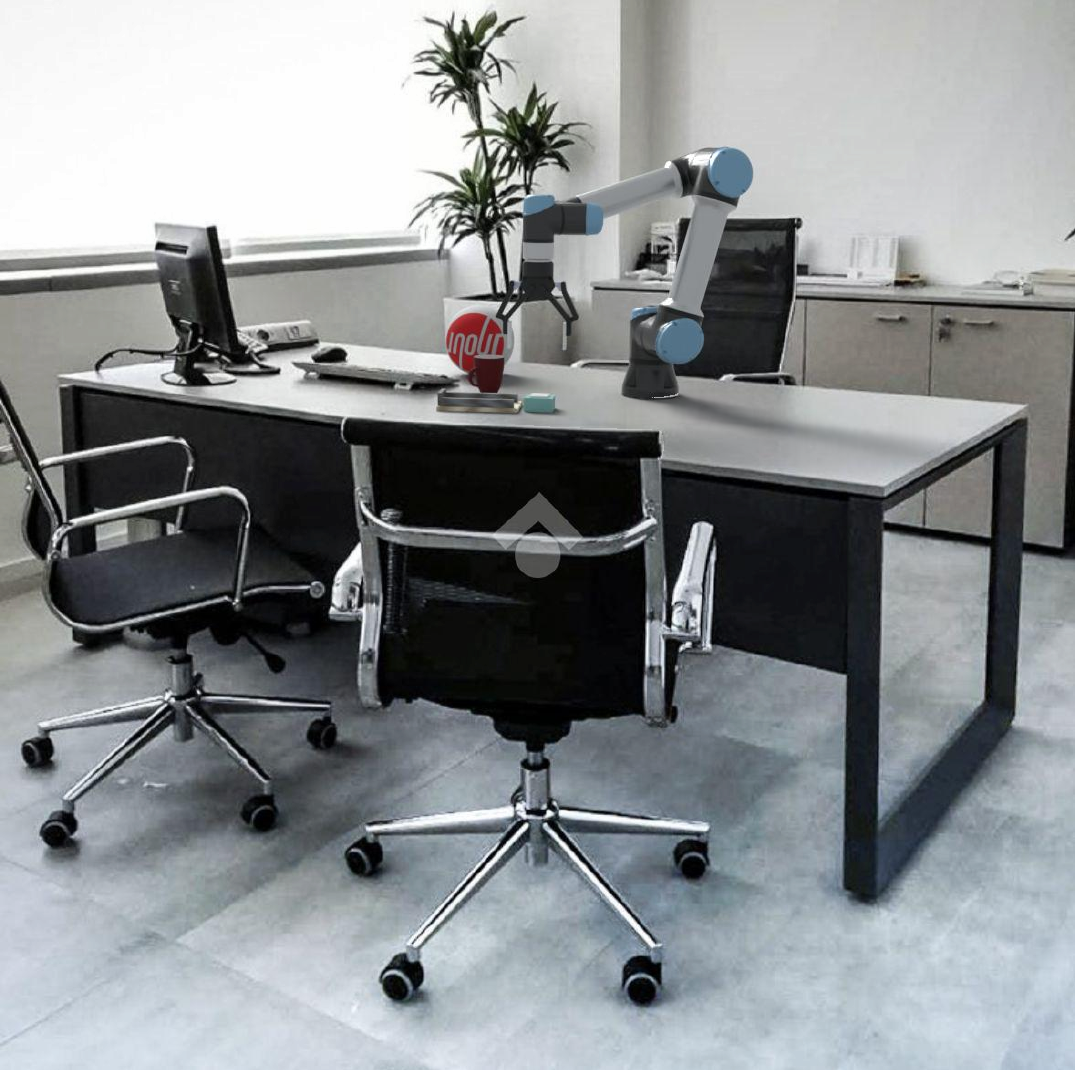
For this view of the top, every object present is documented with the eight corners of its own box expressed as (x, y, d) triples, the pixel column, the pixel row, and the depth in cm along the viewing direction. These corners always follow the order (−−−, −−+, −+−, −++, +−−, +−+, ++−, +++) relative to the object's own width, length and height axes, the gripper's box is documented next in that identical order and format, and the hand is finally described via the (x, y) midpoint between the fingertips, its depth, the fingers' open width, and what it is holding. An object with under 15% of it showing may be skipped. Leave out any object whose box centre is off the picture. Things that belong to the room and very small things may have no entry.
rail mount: (521, 405, 333) (522, 389, 332) (517, 412, 322) (517, 396, 321) (443, 402, 334) (443, 387, 333) (436, 410, 324) (436, 394, 323)
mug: (481, 399, 340) (481, 360, 337) (460, 395, 345) (460, 357, 343) (510, 394, 348) (510, 356, 345) (489, 390, 353) (489, 353, 350)
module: (555, 409, 329) (555, 393, 328) (552, 413, 324) (552, 397, 323) (527, 408, 330) (527, 392, 329) (524, 412, 325) (524, 396, 323)
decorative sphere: (436, 378, 371) (435, 307, 366) (456, 368, 390) (455, 300, 385) (504, 382, 367) (505, 309, 362) (521, 371, 386) (521, 302, 380)
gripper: (590, 260, 320) (588, 347, 326) (488, 258, 322) (488, 345, 328) (588, 262, 313) (586, 351, 319) (484, 260, 315) (484, 349, 321)
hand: (536, 348), depth 324 cm, fingers open, 13 cm apart
